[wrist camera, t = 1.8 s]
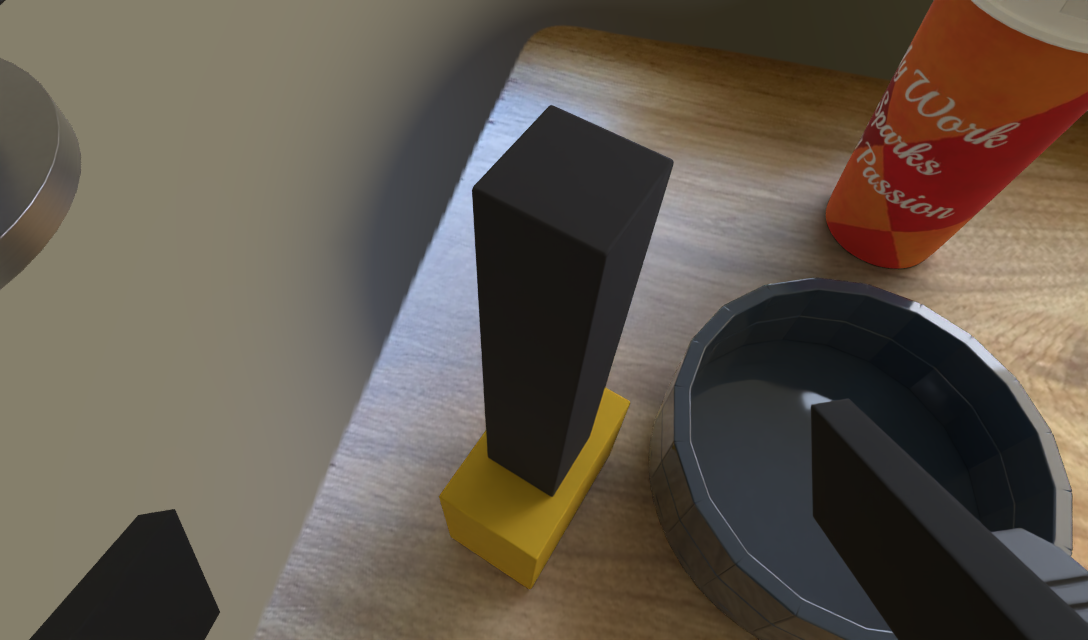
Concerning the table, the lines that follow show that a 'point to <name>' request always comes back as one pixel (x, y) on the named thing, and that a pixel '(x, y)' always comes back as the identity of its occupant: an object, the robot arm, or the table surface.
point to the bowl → (786, 451)
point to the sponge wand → (550, 330)
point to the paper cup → (960, 123)
